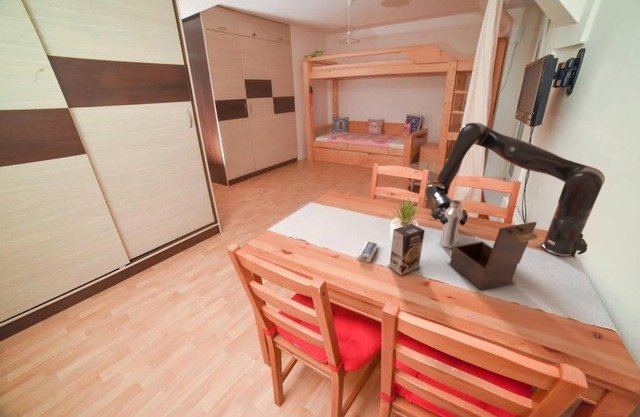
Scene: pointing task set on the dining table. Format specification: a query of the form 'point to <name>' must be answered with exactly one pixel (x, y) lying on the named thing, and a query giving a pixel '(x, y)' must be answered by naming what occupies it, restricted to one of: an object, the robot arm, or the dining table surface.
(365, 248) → the multiport hub
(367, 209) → the dining table surface
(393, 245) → the coffee box
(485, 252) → the chest
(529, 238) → the lid
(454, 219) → the silver metal bottle
